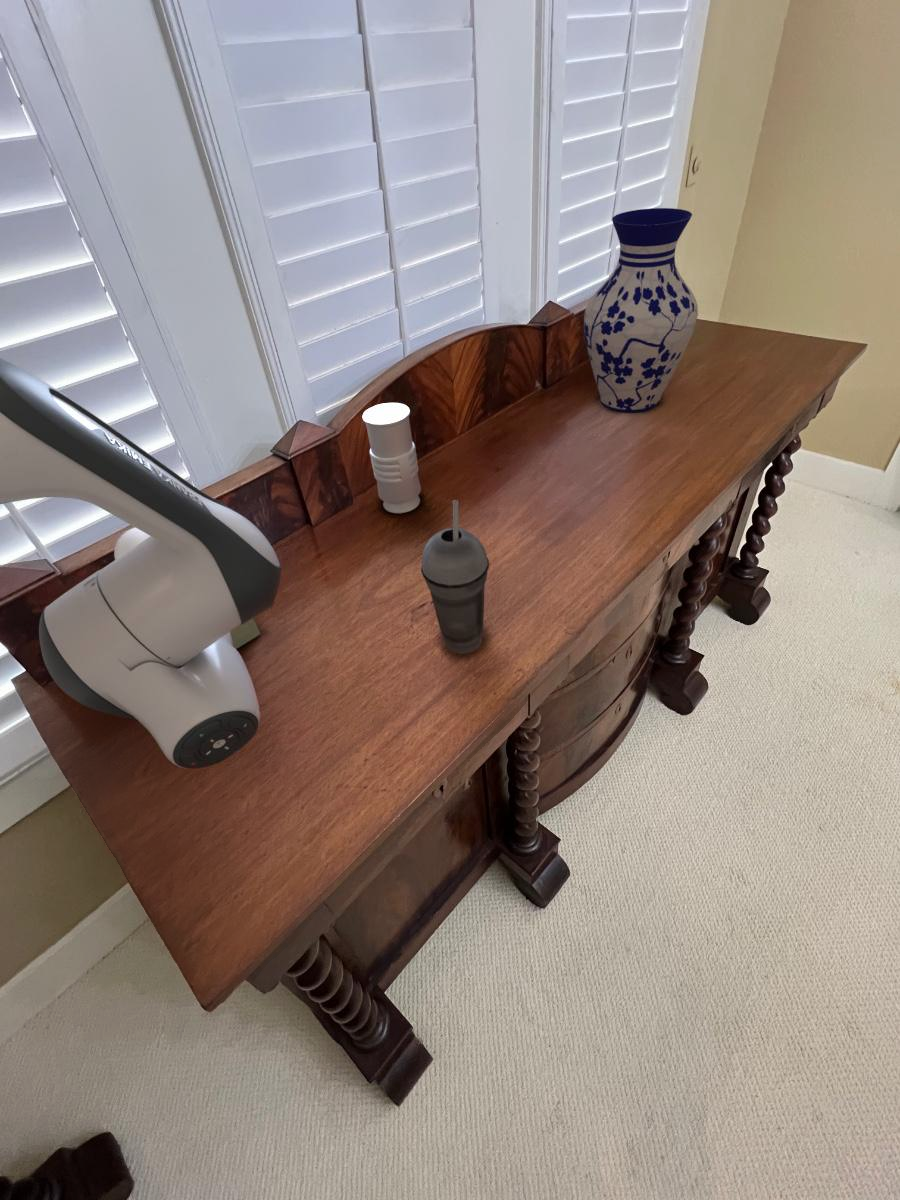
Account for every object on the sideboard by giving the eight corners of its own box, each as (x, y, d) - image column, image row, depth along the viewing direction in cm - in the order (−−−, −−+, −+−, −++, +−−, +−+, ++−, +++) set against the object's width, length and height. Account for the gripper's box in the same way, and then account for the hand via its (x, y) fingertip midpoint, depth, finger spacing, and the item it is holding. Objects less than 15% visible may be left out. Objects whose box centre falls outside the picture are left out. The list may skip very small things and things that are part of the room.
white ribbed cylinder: (393, 520, 89) (375, 429, 79) (372, 501, 94) (353, 412, 84) (431, 504, 92) (419, 413, 82) (409, 486, 96) (395, 398, 86)
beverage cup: (464, 609, 73) (449, 469, 60) (506, 638, 69) (500, 494, 56) (420, 641, 70) (394, 500, 57) (462, 673, 66) (444, 528, 52)
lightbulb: (139, 609, 71) (93, 536, 63) (185, 581, 74) (146, 508, 67) (165, 631, 67) (119, 556, 60) (212, 600, 71) (174, 526, 63)
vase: (583, 379, 121) (595, 207, 101) (681, 380, 116) (713, 200, 96) (573, 421, 108) (583, 233, 87) (682, 424, 103) (720, 226, 83)
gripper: (267, 566, 59) (230, 507, 68) (51, 656, 53) (42, 577, 62) (285, 611, 64) (248, 550, 73) (87, 699, 57) (74, 619, 66)
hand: (152, 563), depth 67 cm, fingers closed on lightbulb, 6 cm apart
